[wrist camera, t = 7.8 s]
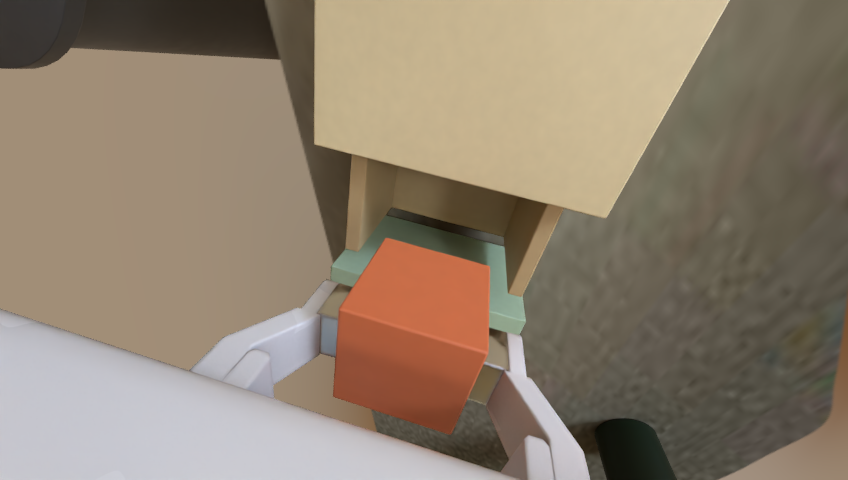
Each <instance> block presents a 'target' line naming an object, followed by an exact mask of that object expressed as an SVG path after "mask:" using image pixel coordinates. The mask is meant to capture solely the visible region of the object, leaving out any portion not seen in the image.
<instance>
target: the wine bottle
mask: <svg viewBox="0 0 848 480" xmlns="http://www.w3.org/2000/svg"><path fill="white" fill-rule="evenodd" d="M595 439H596V442H597V446H598V450H599V453H600V457H601V460H602V464H603V467H604V471H605V474H606V478H607V480H677V479H676V477H675V474H674V472H673V470H672V468H671V466H670V463H669V461H668V459H667V457H666V455H665V452H664V450H663V448H662V446H661V443H660V441H659V439H658V437H657V435H656V432H655V431H654V430H653V429H652V428H651V427H650V426H649V425H647V424H645V423H643V422H640V421H636V420H630V419H617V420H611V421H608V422H605V423H603V424H601V425H600V426H599V427H598V428H597V429H596V431H595Z"/></svg>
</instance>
